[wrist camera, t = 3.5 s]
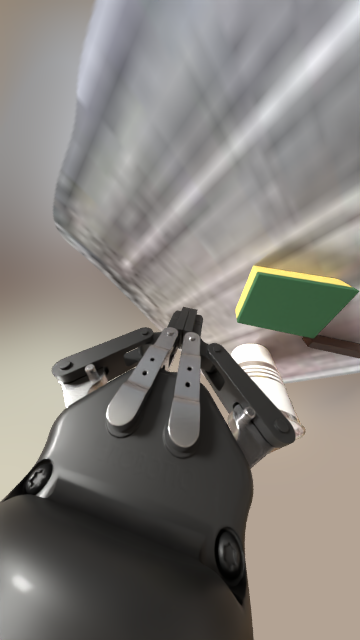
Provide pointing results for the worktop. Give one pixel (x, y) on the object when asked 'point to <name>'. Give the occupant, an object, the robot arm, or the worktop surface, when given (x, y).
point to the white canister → (267, 380)
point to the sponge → (291, 301)
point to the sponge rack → (333, 345)
